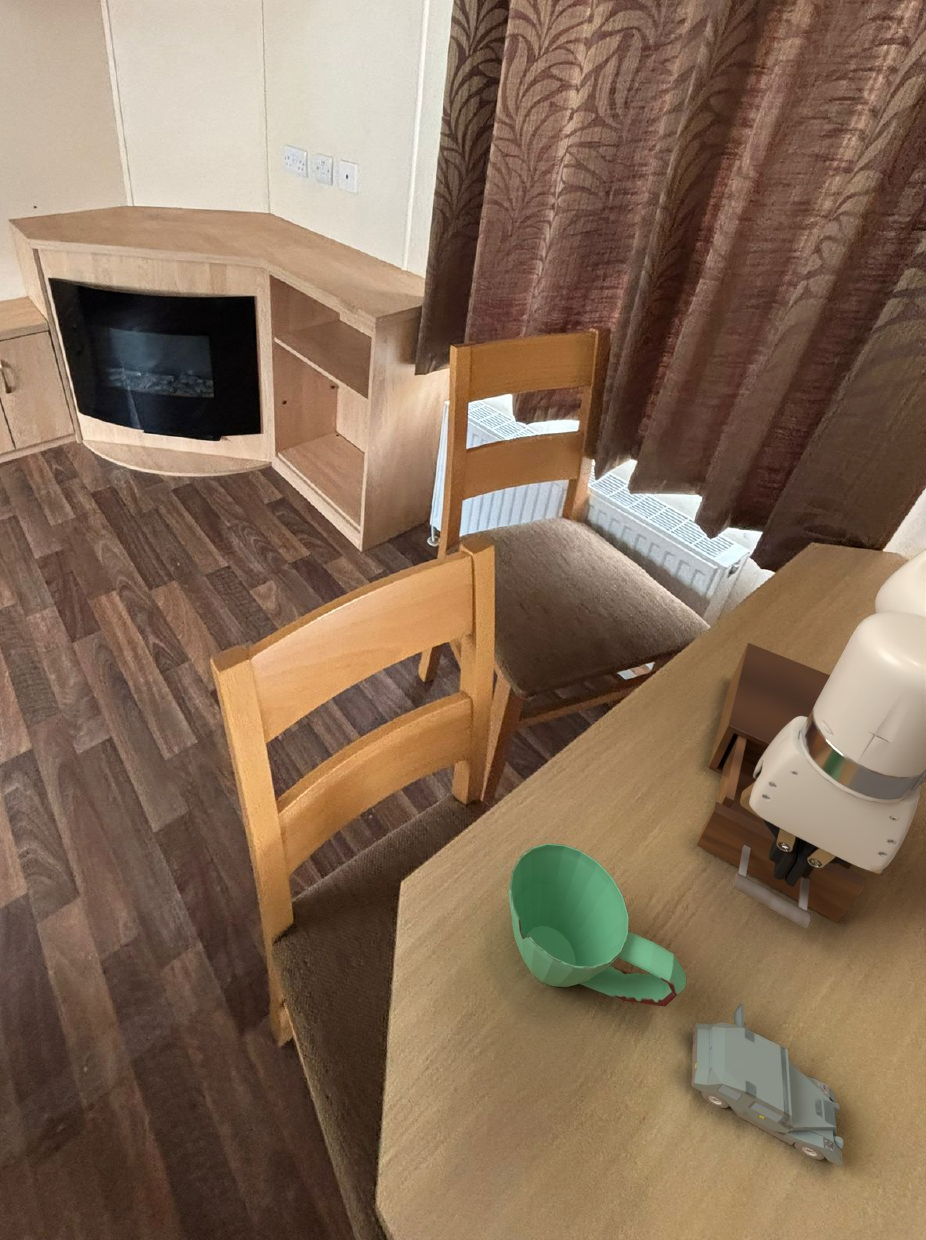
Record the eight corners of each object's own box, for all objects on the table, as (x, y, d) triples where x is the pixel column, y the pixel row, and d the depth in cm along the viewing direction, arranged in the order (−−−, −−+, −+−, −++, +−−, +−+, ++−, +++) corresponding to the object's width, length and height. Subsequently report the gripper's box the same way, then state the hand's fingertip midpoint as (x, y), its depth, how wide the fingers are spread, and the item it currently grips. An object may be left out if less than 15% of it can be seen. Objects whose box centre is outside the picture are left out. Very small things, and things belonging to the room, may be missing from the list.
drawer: (834, 970, 62) (862, 937, 58) (686, 884, 68) (704, 850, 65) (844, 809, 74) (868, 775, 71) (719, 750, 80) (735, 715, 77)
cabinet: (846, 838, 72) (878, 794, 68) (707, 769, 79) (728, 725, 75) (852, 739, 83) (880, 695, 78) (728, 685, 89) (748, 642, 85)
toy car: (832, 1171, 51) (858, 1151, 49) (687, 1092, 55) (704, 1069, 53) (822, 1071, 56) (845, 1048, 54) (690, 1005, 60) (705, 980, 58)
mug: (480, 977, 62) (494, 923, 57) (513, 878, 69) (528, 823, 64) (652, 1087, 55) (685, 1037, 50) (669, 965, 63) (699, 911, 58)
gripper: (977, 761, 53) (882, 883, 63) (760, 673, 61) (705, 793, 70) (986, 842, 48) (881, 961, 57) (747, 734, 56) (689, 855, 65)
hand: (784, 868), depth 64 cm, fingers closed
